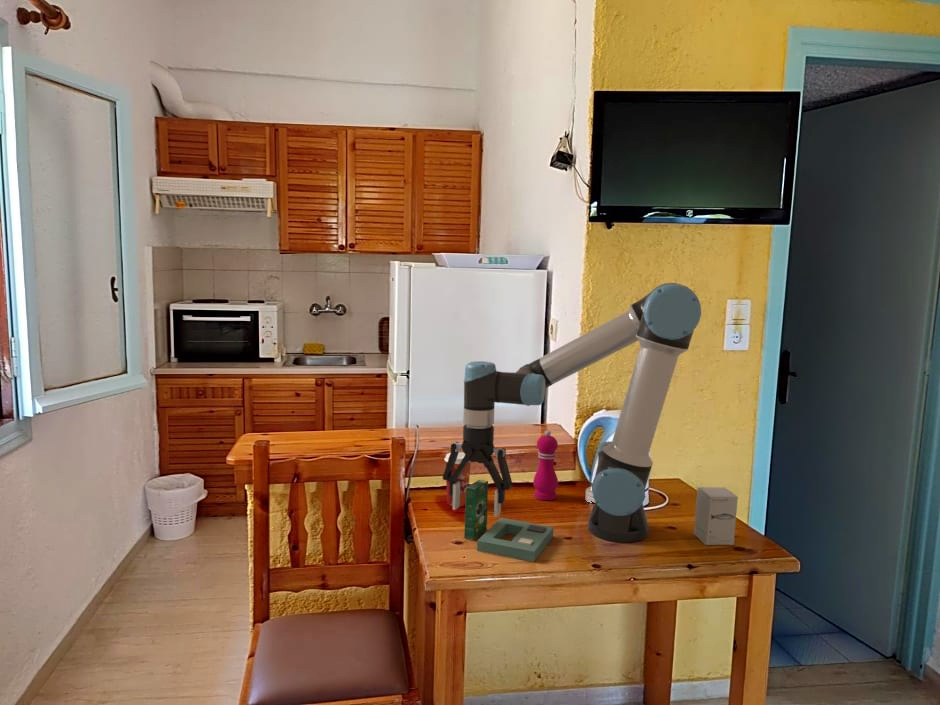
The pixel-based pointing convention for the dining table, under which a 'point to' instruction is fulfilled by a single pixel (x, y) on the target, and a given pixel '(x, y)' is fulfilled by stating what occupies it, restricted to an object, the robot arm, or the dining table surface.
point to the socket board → (516, 539)
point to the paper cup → (459, 479)
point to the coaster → (589, 495)
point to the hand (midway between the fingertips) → (476, 511)
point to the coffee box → (476, 509)
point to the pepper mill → (546, 468)
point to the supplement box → (715, 515)
